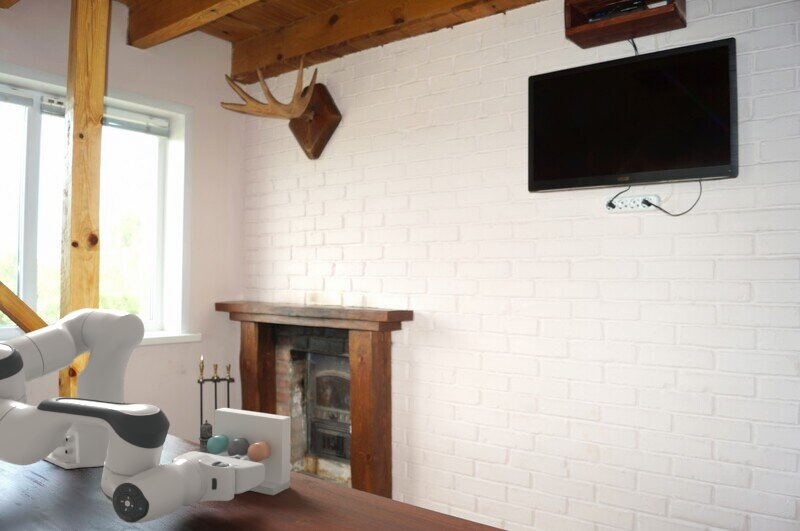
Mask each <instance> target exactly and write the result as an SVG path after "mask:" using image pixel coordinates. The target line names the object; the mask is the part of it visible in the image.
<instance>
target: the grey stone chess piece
mask: <svg viewBox="0 0 800 531" xmlns="http://www.w3.org/2000/svg"><path fill="white" fill-rule="evenodd" d="M199 431H200V436H199V437H198V440H199V448H198V452H203V453H209V454H211V453H210V452H209V451H208V448H207V442H208V440H209V439H210V438H212V437H213V425H212V424H211V423H209V421H208V420H207V419H206V420H205V421H204V423H203V424H201V425H200V429H199Z"/></svg>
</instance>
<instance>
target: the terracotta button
mask: <svg viewBox="0 0 800 531" xmlns="http://www.w3.org/2000/svg"><path fill="white" fill-rule="evenodd" d="M270 453H271V449H270V446H269V444H268V443H267V442H265V441H261V442H258V443H255V444H252V445H250V447H249V448H248V457H249V459H250V460H251V461H252V462H260V461H262V460H265V459H267V458H268V457H269V456H270Z"/></svg>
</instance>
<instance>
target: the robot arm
mask: <svg viewBox="0 0 800 531" xmlns="http://www.w3.org/2000/svg"><path fill="white" fill-rule="evenodd" d="M144 336H145V326H144V323H143V320H142V319H141V318H140V317H139V316H138V315H136V314H135V313H131V312H129V311H126V310H122V309H110V308H93V307H92V308H90V307H85V308H80V309H76V310H73V311H70V312H68V313H66V315H64V316H63V317H62V318H61V319H59V320H57V321H56V322H54V323H51V324H49V325H47V326H45V327H44V326H43V327H41V328H39V329H36V330H33V331H30V332H27V333H24V334H20V335H18V336H15V337H13V338H10V339H8V340H5V341H3V342H1V343H0V461H2V462H5V463H7V464H12V465H16V466H28V465H29V466H30V465H33V464H36V463H39V462H40V461H43V460H45V461H47V462H48V463H49V462H50V463H51V464H54V465H56V466H58V467H61V468H63V469H65V470H67V469H69V470H70V469H78V468H93V467H103V469H102V475H101V479H100V480H101V481H100V490H101V492H102V493H103V494H104V496H105V497H106V499H108V500H109V501H111V502H112V508H113V511H114V512H115V514H116V515H117V517H118V518H119V519H121V521H123V522H126V523H128V524H142V523H146V522H151V521H154V520H158V519H160V518H162V517H166V516H169V515H171V514H172V513H173V514H174V512H177V511H178V510H180V508H181V507H189V506H192V505H195V504H196V503H204V502H230V501H232V500H233V499H234V498H235V495H239V494H244V493H245V492H248V491H250V489H252V488H254V487H256V486H258V485H260V484H262V483H263V481H264V478H265V467H264V464H263V463H258V462H252V461H249V457H248V456H242V455H235V456H228V457H225V456H220V455H214V454H209V453H203V452H198V451H199V450H198V451H196V450H194V451H193V450H192V451H187V452H184V453H182V454H180V455H178V456H176V457H174V458H173V459H171V463H168V464H163V463H162V464H161V459H162V454H163V448H164V444H165V443H166V442H165V441H166V439H167V435H168V433H169V432H168V431H169V429H170V426H171V425H170V420H169V419H168V417H167V415H166V414H165V412H164V411H163V410H162V409H161V408H160V407H159V406H157V405H155V404H149V403H133V402H132V403H130V402H129V403H128V402H127V403H126V402H125V401H124V397H125V395H124V394H125V393H124V392H125V375H126V370H127V367H128V366H127V365H128V363H129V360H130V357H131V355H132V353H133V352H134V350H135V349H136V348H137V347H138V346H139V345H141V343H142V341H143V339H144ZM87 353H89V355H88V359H87V362H86V365H85V367H84V368H83V369H82V370H81V371H80V372H79V373H78V375H77V378H76V397H72V396H71V397H70V396H55V397H50V398H46V399H44V400H42V401H41V402H40V403H39V404H38V405H31V404H28V387H27V384H30V383H32V382H36V381H37V380H41V379H42V378H44V377H47V376H49V375H51V374H53V373H54V374H55V373H57V372H60V371H62V370H64V369H67V368H68V367H70V366H71V365H72V364H73V362H74V361H75V359H77V358H78V357H80V356H82V355H84V354H87Z"/></svg>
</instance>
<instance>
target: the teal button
mask: <svg viewBox="0 0 800 531" xmlns="http://www.w3.org/2000/svg"><path fill="white" fill-rule="evenodd" d="M228 443H229V439H228V438H227V436H225V435H223V434H221V435H218V436H215V435H214V436H212V438H210V439H209V440H208V442H207V448H208V451H209V452H210V453H211V454H214V455H217V454H220V453H222V452H225V451H227V445H228Z"/></svg>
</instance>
